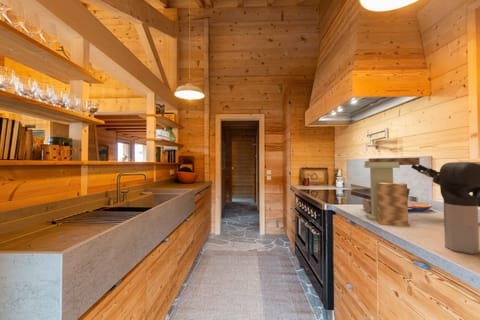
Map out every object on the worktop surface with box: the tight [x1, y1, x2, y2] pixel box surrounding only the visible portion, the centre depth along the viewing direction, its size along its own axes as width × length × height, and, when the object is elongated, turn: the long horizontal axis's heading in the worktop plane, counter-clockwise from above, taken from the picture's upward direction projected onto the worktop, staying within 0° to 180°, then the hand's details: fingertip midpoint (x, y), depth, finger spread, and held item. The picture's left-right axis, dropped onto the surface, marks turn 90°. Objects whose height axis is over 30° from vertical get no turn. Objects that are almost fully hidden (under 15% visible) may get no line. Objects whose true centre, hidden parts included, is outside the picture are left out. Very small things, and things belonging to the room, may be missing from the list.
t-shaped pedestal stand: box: [364, 160, 401, 222], centre depth 128 cm, size 16×10×34 cm, turn 69°
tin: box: [362, 198, 371, 214], centre depth 147 cm, size 15×3×8 cm, turn 168°
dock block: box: [376, 182, 410, 228], centre depth 118 cm, size 13×9×22 cm, turn 69°
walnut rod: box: [368, 157, 421, 166], centre depth 126 cm, size 24×4×4 cm, turn 69°
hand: (415, 166), depth 123 cm, fingers open, 8 cm apart
